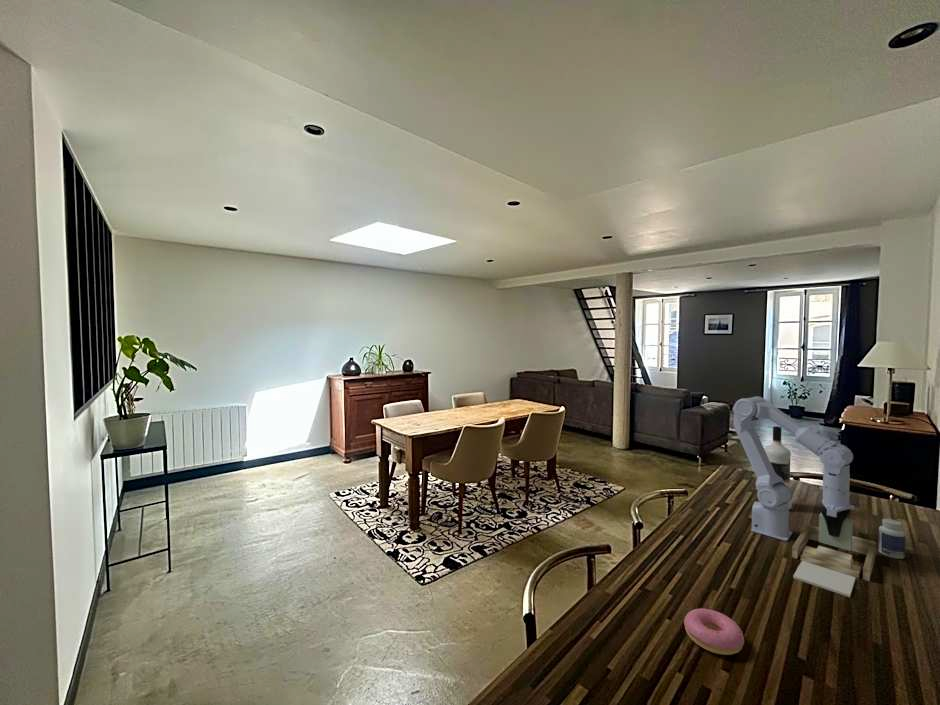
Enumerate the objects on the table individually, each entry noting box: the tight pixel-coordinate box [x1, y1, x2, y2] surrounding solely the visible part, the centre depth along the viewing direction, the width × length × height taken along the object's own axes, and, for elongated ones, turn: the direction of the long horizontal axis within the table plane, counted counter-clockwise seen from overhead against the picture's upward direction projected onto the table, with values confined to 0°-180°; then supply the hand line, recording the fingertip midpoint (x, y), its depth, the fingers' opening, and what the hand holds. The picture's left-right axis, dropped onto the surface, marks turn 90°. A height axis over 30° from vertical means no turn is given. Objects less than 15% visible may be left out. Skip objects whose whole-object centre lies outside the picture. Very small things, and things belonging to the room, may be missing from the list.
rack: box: [791, 523, 877, 582], centre depth 118 cm, size 16×19×4 cm
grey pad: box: [792, 560, 856, 598], centre depth 107 cm, size 11×11×1 cm
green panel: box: [818, 512, 854, 552], centre depth 119 cm, size 7×3×8 cm, turn 42°
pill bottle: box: [878, 518, 906, 560], centre depth 119 cm, size 5×5×10 cm
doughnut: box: [683, 607, 745, 656], centre depth 86 cm, size 11×11×4 cm
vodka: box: [763, 425, 793, 510], centre depth 154 cm, size 9×9×30 cm
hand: (834, 533), depth 119 cm, fingers closed on green panel, 3 cm apart
